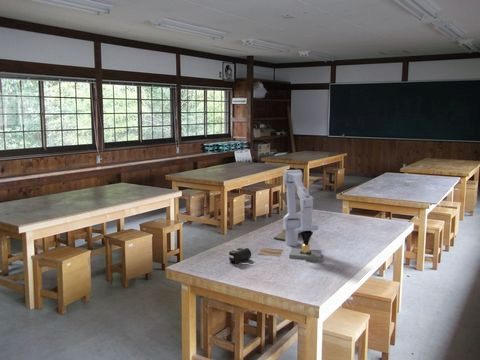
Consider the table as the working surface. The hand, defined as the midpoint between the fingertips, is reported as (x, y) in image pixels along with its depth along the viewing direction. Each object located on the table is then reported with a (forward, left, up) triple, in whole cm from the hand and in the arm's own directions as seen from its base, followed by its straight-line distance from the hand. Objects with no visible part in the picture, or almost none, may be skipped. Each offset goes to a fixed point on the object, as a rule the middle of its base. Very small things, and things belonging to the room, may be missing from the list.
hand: (305, 244), depth 250 cm
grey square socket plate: (0, 0, -7) cm, 7 cm away
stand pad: (-1, -19, -7) cm, 20 cm away
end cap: (+17, -32, -7) cm, 37 cm away
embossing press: (-37, -14, -7) cm, 40 cm away
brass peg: (0, 0, -7) cm, 7 cm away
